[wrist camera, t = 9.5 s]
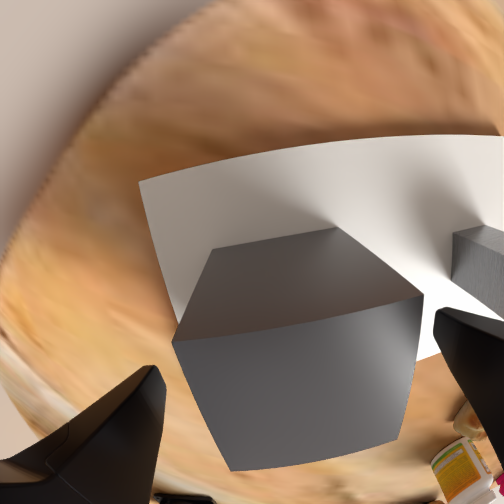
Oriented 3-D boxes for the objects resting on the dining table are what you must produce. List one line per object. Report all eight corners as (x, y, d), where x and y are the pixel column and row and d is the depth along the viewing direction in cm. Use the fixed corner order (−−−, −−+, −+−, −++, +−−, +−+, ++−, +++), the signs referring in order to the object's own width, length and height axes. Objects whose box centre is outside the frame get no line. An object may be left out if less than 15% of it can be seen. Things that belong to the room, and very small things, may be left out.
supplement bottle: (421, 470, 20) (447, 531, 11) (444, 442, 19) (479, 508, 10) (454, 458, 20) (481, 512, 11) (477, 430, 19) (511, 486, 10)
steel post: (450, 280, 12) (511, 325, 7) (452, 232, 11) (523, 265, 7) (482, 270, 12) (541, 307, 7) (485, 224, 11) (552, 251, 7)
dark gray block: (238, 352, 13) (230, 471, 7) (212, 249, 12) (171, 342, 5) (345, 333, 13) (397, 439, 7) (338, 226, 11) (424, 294, 5)
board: (212, 390, 15) (210, 404, 14) (148, 180, 12) (138, 181, 11) (496, 314, 14) (505, 321, 13) (502, 137, 11) (515, 137, 10)
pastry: (498, 341, 15) (524, 365, 12) (529, 340, 16) (551, 359, 12) (444, 424, 18) (460, 452, 14) (482, 414, 19) (498, 436, 15)
